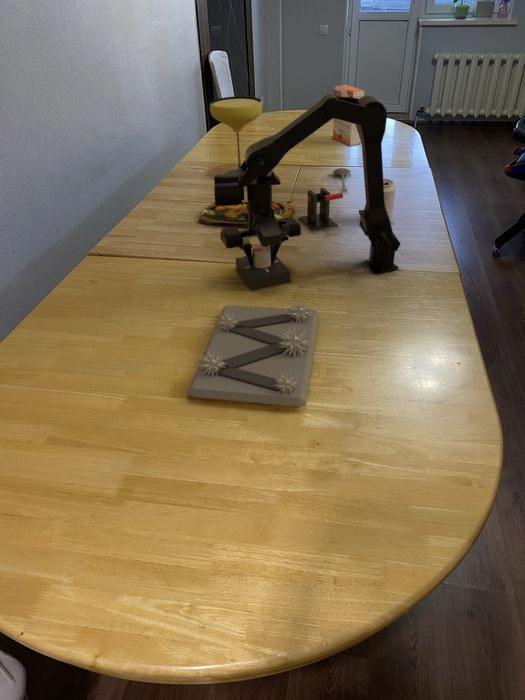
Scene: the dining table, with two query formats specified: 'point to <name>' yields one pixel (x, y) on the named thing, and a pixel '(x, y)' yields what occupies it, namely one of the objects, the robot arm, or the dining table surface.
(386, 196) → the can
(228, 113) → the cocktail glass
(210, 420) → the dining table surface
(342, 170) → the soupspoon
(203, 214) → the prepared meal
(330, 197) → the toast lever
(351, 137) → the cracker box
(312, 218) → the dark grey lever stand
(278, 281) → the dial panel
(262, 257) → the knob
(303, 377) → the decorative plate
